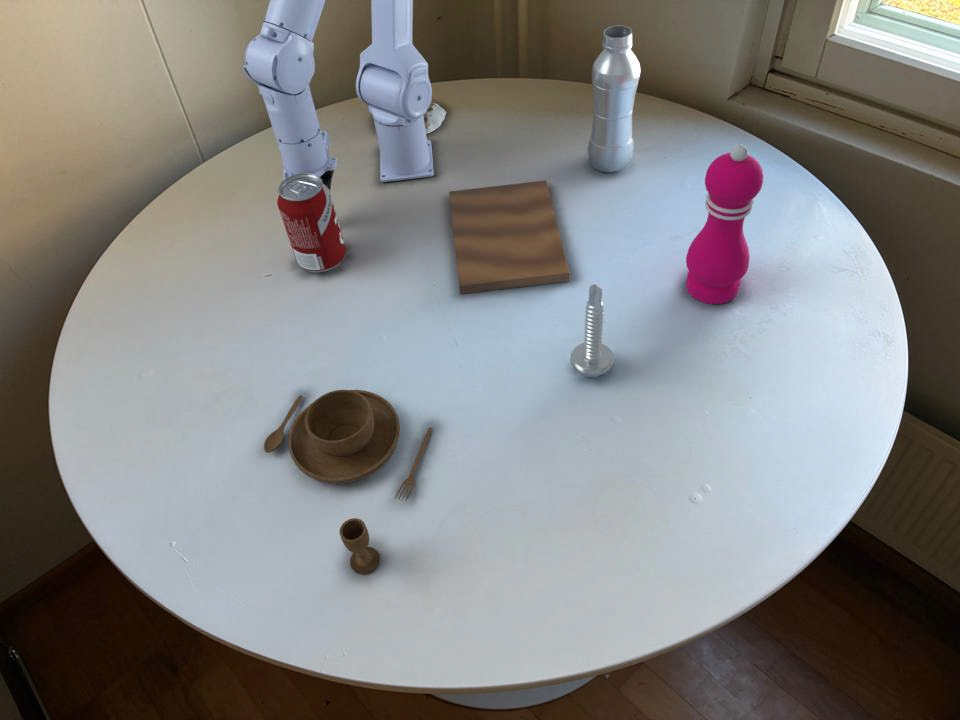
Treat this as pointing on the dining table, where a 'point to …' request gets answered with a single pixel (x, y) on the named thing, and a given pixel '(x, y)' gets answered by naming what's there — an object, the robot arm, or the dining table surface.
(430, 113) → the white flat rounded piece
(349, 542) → the place setting
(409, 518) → the dining table surface
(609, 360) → the screw
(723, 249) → the pepper mill
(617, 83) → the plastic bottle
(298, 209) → the soda can
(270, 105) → the robot arm
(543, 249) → the cutting board
